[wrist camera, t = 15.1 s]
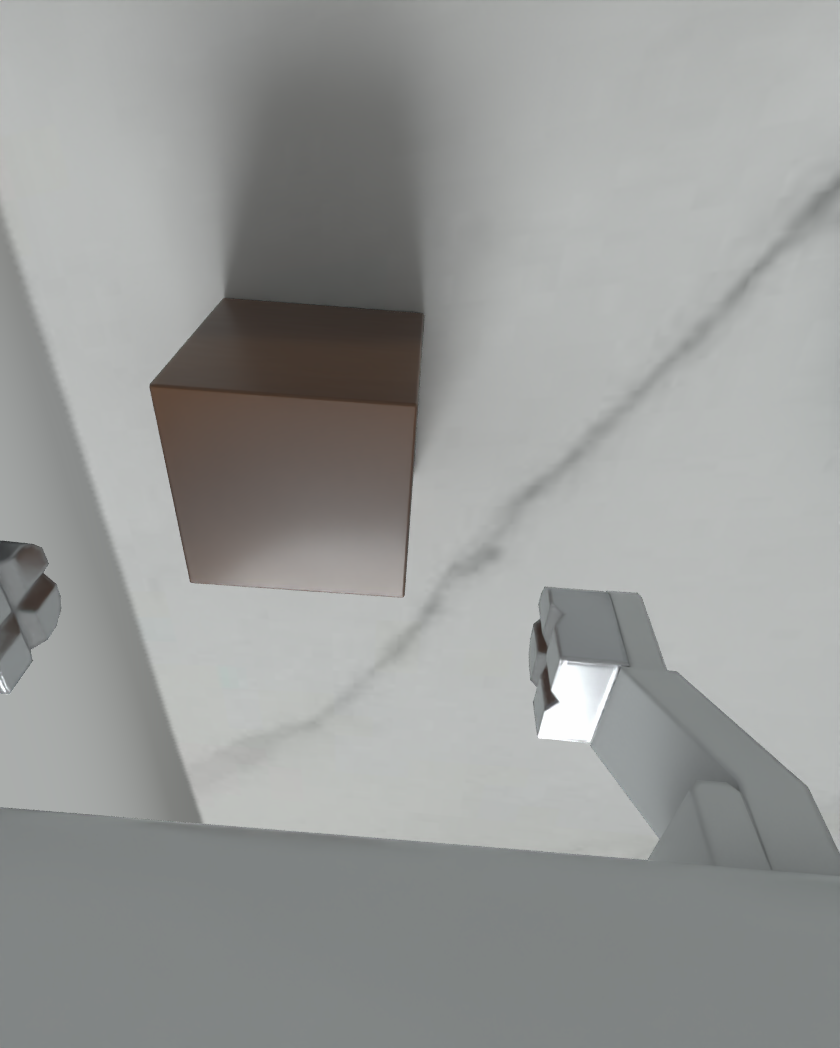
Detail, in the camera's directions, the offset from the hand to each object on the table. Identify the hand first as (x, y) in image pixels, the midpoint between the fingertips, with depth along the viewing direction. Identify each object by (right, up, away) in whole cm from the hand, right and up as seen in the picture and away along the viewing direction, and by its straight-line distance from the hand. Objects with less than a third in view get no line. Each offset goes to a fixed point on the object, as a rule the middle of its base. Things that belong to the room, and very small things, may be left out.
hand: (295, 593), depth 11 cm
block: (0, +4, +5) cm, 7 cm away
